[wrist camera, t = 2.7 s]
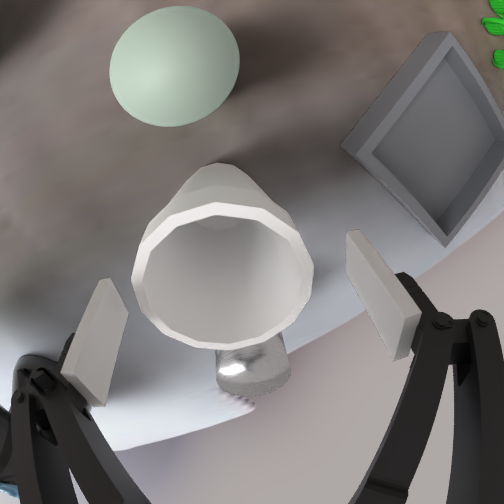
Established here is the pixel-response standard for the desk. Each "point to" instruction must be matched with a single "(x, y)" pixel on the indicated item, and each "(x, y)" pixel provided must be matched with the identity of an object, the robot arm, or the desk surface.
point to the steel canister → (253, 368)
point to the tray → (433, 136)
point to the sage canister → (174, 66)
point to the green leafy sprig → (496, 29)
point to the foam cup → (222, 263)
